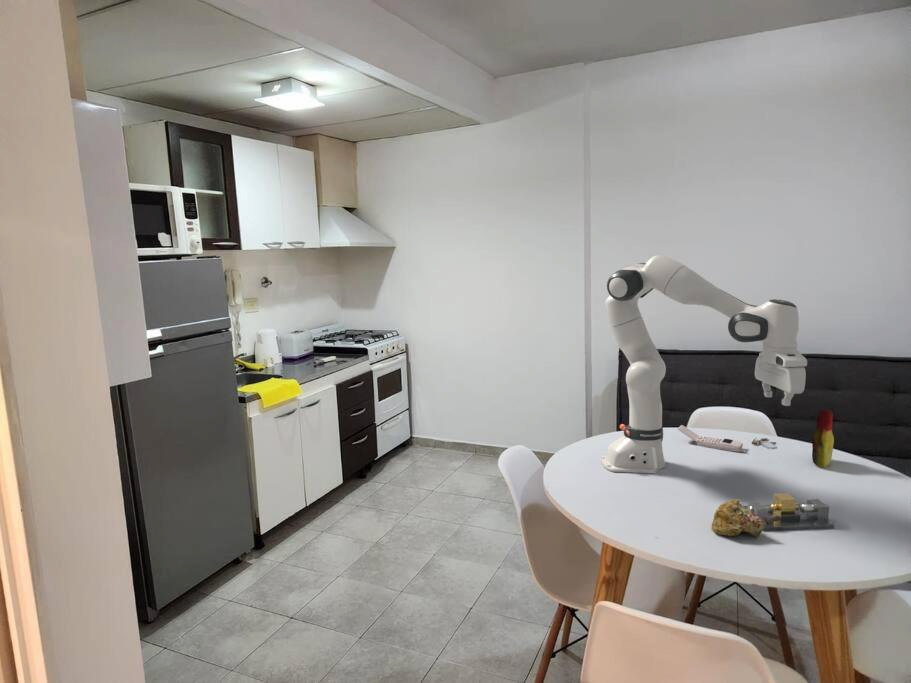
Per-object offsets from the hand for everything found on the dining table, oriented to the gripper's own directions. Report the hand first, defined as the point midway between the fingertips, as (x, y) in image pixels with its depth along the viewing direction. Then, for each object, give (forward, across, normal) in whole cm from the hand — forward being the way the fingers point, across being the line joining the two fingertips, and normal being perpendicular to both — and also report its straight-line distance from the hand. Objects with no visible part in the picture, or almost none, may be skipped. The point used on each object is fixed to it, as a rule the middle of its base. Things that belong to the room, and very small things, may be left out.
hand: (776, 401), depth 168 cm
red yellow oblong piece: (+31, -26, +32) cm, 52 cm away
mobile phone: (+32, -48, +3) cm, 57 cm away
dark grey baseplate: (+31, +12, -3) cm, 33 cm away
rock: (+31, +19, -20) cm, 42 cm away
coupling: (+30, +12, -3) cm, 33 cm away
